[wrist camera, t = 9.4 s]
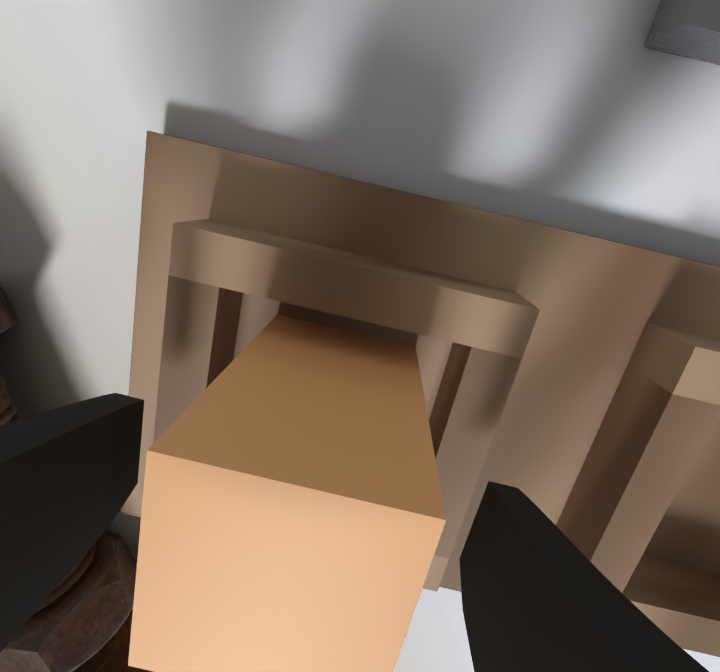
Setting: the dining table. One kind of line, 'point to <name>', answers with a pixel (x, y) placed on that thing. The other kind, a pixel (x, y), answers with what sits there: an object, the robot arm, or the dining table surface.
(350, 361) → the orange peg
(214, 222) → the walnut rack
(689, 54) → the metal socket
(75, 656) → the bolt
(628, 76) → the dining table surface
